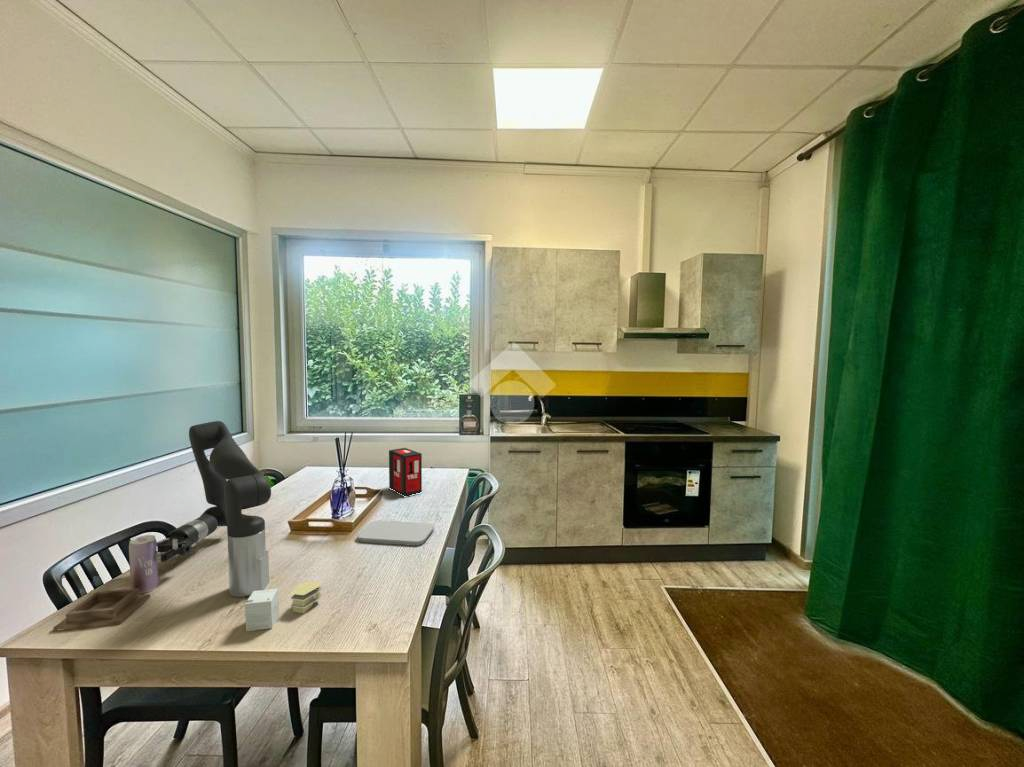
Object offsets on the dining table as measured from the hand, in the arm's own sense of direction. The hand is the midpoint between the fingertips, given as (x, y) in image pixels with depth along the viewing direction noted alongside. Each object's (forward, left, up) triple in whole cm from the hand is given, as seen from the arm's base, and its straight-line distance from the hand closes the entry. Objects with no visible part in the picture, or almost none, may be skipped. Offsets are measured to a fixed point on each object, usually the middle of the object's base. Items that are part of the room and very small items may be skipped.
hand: (147, 558), depth 124 cm
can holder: (+3, +12, -9) cm, 15 cm away
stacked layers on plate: (-48, +18, -9) cm, 52 cm away
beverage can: (0, +1, -9) cm, 9 cm away
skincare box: (-39, +24, -9) cm, 47 cm away
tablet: (-69, -24, -9) cm, 73 cm away
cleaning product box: (-70, -76, -9) cm, 103 cm away
